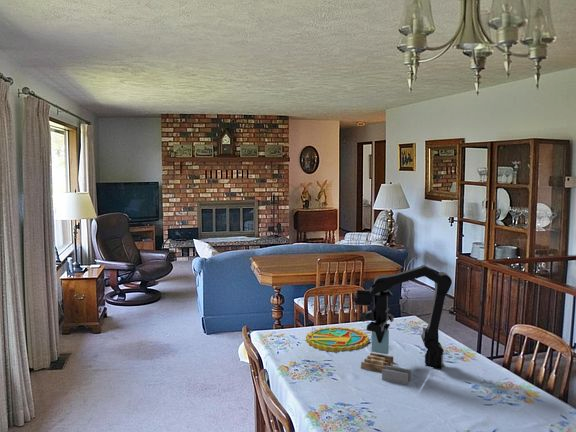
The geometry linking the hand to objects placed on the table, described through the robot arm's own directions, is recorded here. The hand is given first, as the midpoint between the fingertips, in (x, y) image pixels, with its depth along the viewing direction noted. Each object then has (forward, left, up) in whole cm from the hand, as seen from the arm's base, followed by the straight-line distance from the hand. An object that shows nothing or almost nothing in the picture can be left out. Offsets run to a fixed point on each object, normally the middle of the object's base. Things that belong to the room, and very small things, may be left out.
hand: (380, 342), depth 215 cm
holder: (-11, +14, -9) cm, 20 cm away
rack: (0, +3, -9) cm, 10 cm away
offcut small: (-1, +8, -9) cm, 12 cm away
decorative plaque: (+27, -18, -10) cm, 34 cm away
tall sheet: (0, 0, -4) cm, 5 cm away
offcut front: (0, +4, -9) cm, 9 cm away
